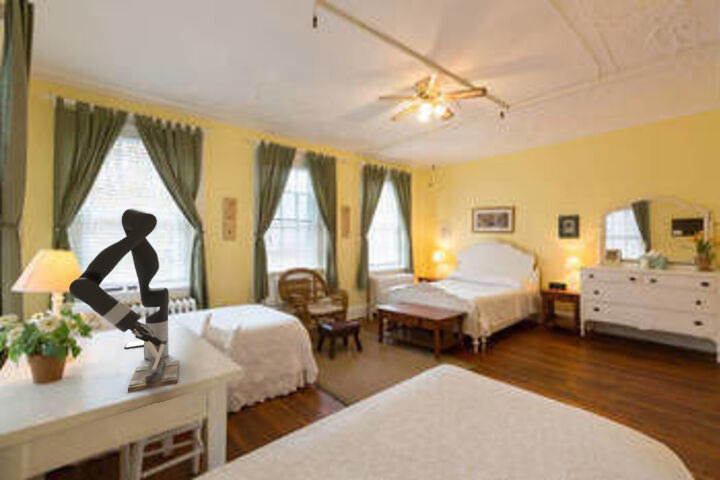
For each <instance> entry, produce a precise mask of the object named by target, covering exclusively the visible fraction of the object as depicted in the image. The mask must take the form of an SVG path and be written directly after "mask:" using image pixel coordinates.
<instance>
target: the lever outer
mask: <svg viewBox="0 0 720 480" xmlns="http://www.w3.org/2000/svg"><path fill="white" fill-rule="evenodd" d="M167 340H168V341H169V337H168V338H163V339H162V342H161V347H160V349H159V352H158V355H157V358H156V360H155V363H154V366H153V367H152V370H151V373H155V372H156V369H157V365H158V362H159V360H160V357H161V354H162V352H163V349H164V346H165V345H166V343H167Z"/></svg>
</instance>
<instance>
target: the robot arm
mask: <svg viewBox="0 0 720 480" xmlns="http://www.w3.org/2000/svg"><path fill="white" fill-rule="evenodd" d="M157 224H158V219H157V217H156V216H155V215H154V214H153V213H151V212H147V211H144V210H141V209H138V208H127V209H126V210H125V211H124V212H123V214H122V215H121V226H122V228H123V231H124V234H125V236H124V238H122V239H120V240H118V241H116V242H114V243H112V244H110V245H109V246H107V247H105V248H104V249H102V250H101V251H99V253H98V254H97V255H96V256H95V257H94V258H93V259H92V260H91V262H90V263H89V264H88V265H87V267H86V269H85V271H84V272H82V274H81V275H80V276H78V278H76V279H74V280H73V281H71V283H70V285H69V287H68V290H69V293H70V295H71V297H73V298H75V299H78V300H80V301H81V302H83V303H84V304H86V305H87V306H89V307H90V308H91V310H92V311H94V312H96V313H97V314H98V315H100V316H101V317H102V318H104V320H106V322H108V323H109V324H110V325H112V326H114V327H115V328H116V329H118V330H119V331H121V332H122V333H126V332H127V331H128V330H130V331H131V333H132V334H133V336H134V337H135V338H136V339H138V340H139V341H145V342H149V341H150V342H151V343H152V344H153V346H154V347H155V349H156V351H157V352H159V349H160V347H161V342H162V339H163V338H168V340H167V343H166V345H165V346H164V349H163V352H162V354H161V357H160V358H163V357H165V358H166V357H168V356H169V352H170V351H169V345H170V344H169V299H170V295H169V290H168V288H167V287H150V283H151V282H152V281H153V279H154V278H155V276H156V274H157V273H158V271H159V270H160V262H159V257H158V253H157V251H156V249H155V248H154V247H153V245H152V244H151V242H149V240H148V239H147V237H148V236H149V235H150V234H151V233H152V232H153V231H154V230H155V229H156V227H157ZM129 253H131V257H132V261H133V266H134V269H135V273H136V277H137V281H138V287H139V294H140V301H141V305H142V306H143V308H146V309H147V308H148V309H149V308H150V309H152V308H159V310H157V311H155V312H153V313H150V314H148V315H146V317H145V319H144V320H145V323H143V322H139V320H140V319H141V315H140V314H138V313H137V312H135V311H134V310H133V309H131V308H130V307H129V306H127V305H126V304H124V303H123V302H121V301H119V300H118V299H117V298H115V297H114V296H112V295H110V294H109V293H107V292H106V290H104V289H103V288H102V287H101V284H102V283H103V281H104V280H105V278H107V277H108V275H109V274H110V273H111V272H112V271H113V270H114V269H115V267H117V265H118V264H119V262H121V261H122V260H123V258H124V257H126V255H128V254H129ZM145 342H144V347H143V359H146V360H150V361H151V359H155V358H154V356H153V355H152V353H151V352H150V350H149V348H148V347H147V345H146V343H145Z"/></svg>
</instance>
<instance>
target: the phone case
mask: <svg viewBox="0 0 720 480" xmlns="http://www.w3.org/2000/svg"><path fill="white" fill-rule="evenodd" d="M138 347H139V348H144V341H143V340H138V341H137V340H136V341H131V342H127V343H126V344H125V345H124V347H123V348H124V350H130V348H132V349H138Z"/></svg>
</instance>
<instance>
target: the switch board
mask: <svg viewBox="0 0 720 480" xmlns="http://www.w3.org/2000/svg"><path fill="white" fill-rule="evenodd" d="M165 360H166V357H163V358H160V360H159V362H158V365H157V369H156V372H155V373H151V370H152V367H153V366H154V363H155V359H151V360H150V362H149V365H145V366H138V367H136V368H135V370H134V373H133V374H132V378H131V379H130V381H129V384H128V387H127V392H128V393H131V392H134V391H135V392H136V391H140V390H141V391H142V390H146V389H151V388H152V389H153V388H157V387H162V386H167V385H172V384H177V383H178V379H179V378H178V377H179V368H180V360H174V361H168V362H166V361H165Z"/></svg>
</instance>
